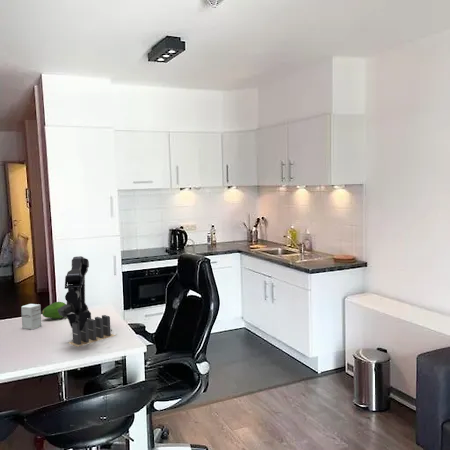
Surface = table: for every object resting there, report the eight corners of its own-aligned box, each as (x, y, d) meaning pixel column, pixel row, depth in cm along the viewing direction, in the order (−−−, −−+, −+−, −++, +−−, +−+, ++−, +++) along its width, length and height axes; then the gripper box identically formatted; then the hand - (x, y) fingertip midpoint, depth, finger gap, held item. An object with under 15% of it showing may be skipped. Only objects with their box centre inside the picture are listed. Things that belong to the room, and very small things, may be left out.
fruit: (44, 322, 269) (43, 305, 268) (41, 318, 277) (40, 302, 276) (70, 318, 276) (69, 302, 276) (67, 314, 285) (66, 298, 284)
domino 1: (78, 344, 226) (77, 324, 226) (72, 342, 230) (71, 323, 229) (81, 343, 228) (80, 323, 227) (75, 341, 231) (74, 322, 230)
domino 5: (108, 336, 239) (107, 317, 238) (102, 334, 242) (101, 315, 241) (110, 335, 240) (109, 316, 239) (105, 333, 243) (104, 314, 242)
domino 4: (100, 338, 236) (100, 319, 235) (95, 336, 239) (94, 317, 238) (103, 337, 237) (102, 318, 236) (98, 335, 240) (97, 316, 239)
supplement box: (21, 328, 258) (20, 306, 257) (31, 325, 265) (30, 303, 264) (32, 329, 255) (30, 307, 254) (42, 326, 262) (40, 304, 261)
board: (77, 347, 224) (77, 346, 224) (67, 344, 230) (67, 342, 230) (115, 336, 240) (115, 335, 240) (106, 333, 246) (106, 332, 246)
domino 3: (93, 340, 232) (92, 320, 232) (88, 338, 236) (87, 319, 235) (96, 339, 234) (95, 320, 233) (91, 337, 237) (90, 318, 236)
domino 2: (86, 342, 229) (85, 322, 229) (80, 340, 233) (79, 321, 232) (89, 341, 231) (88, 322, 230) (83, 339, 234) (82, 320, 233)
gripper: (50, 298, 227) (51, 329, 228) (69, 304, 215) (71, 337, 216) (71, 294, 235) (72, 324, 237) (90, 299, 223) (92, 331, 224)
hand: (76, 329), depth 228 cm, fingers open, 7 cm apart
